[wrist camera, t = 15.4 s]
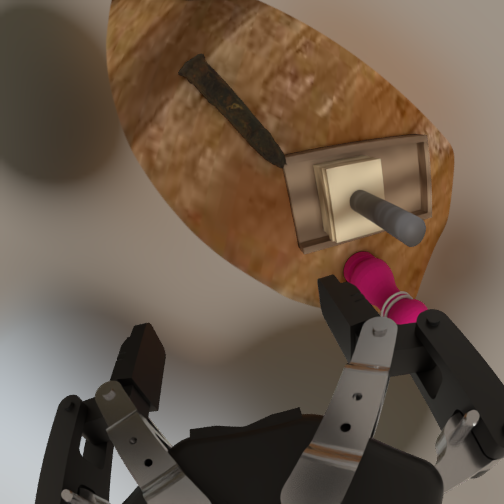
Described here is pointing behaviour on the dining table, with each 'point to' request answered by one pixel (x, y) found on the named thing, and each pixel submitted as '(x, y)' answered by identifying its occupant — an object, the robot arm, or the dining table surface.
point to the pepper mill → (381, 288)
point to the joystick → (361, 202)
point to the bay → (394, 180)
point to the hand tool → (232, 108)
